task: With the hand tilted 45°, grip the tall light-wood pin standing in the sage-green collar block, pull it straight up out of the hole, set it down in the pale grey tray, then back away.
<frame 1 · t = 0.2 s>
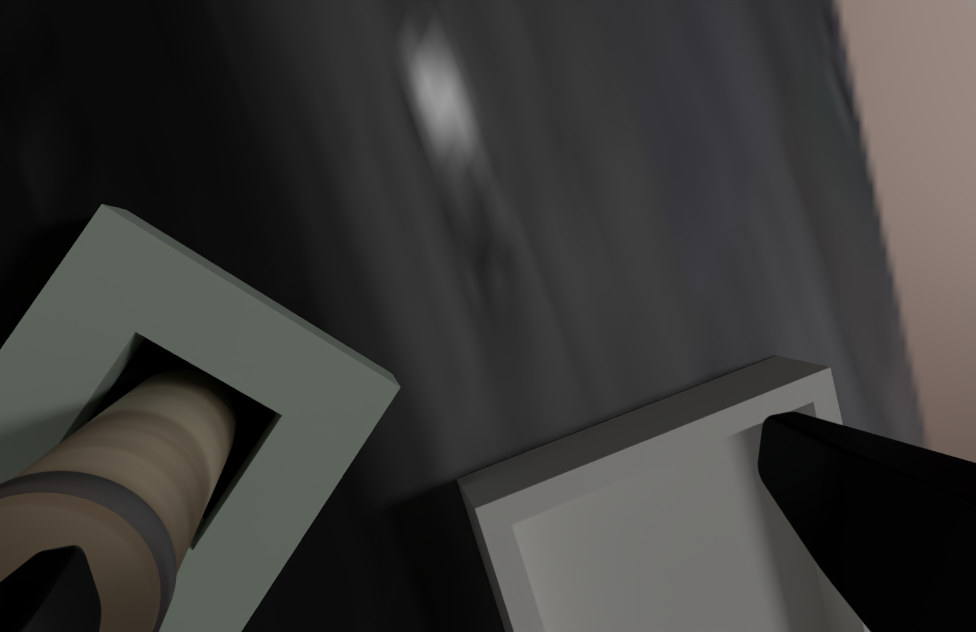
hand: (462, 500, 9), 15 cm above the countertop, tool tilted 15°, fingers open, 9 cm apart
tray: (668, 573, 27), on the countertop
collar: (181, 423, 22), on the countertop
pin: (131, 485, 16), in the collar
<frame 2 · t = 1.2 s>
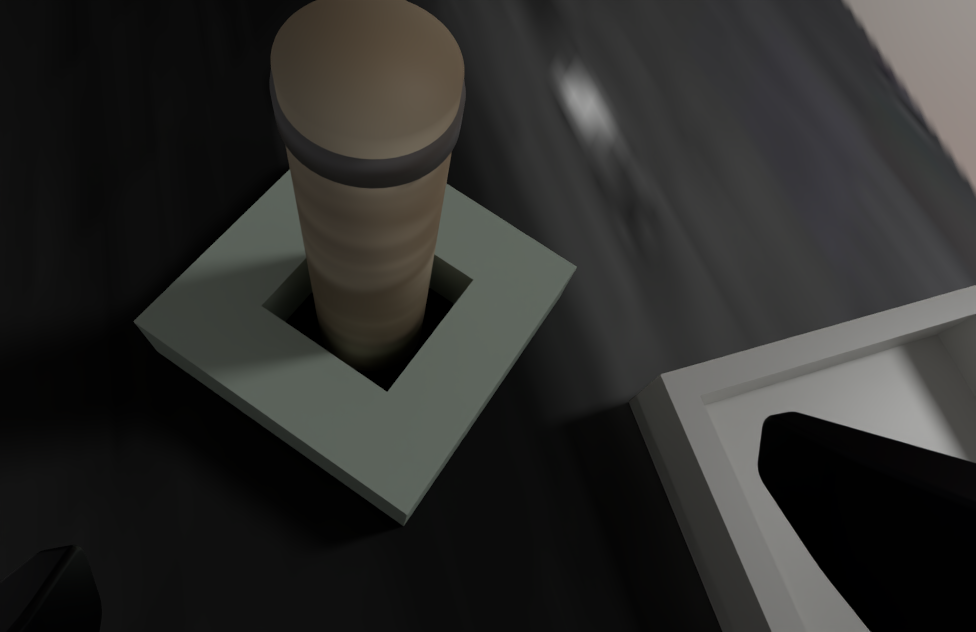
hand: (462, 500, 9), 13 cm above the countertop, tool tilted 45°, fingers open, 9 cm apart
tray: (881, 536, 24), on the countertop
collar: (371, 323, 24), on the countertop
pin: (370, 232, 18), in the collar
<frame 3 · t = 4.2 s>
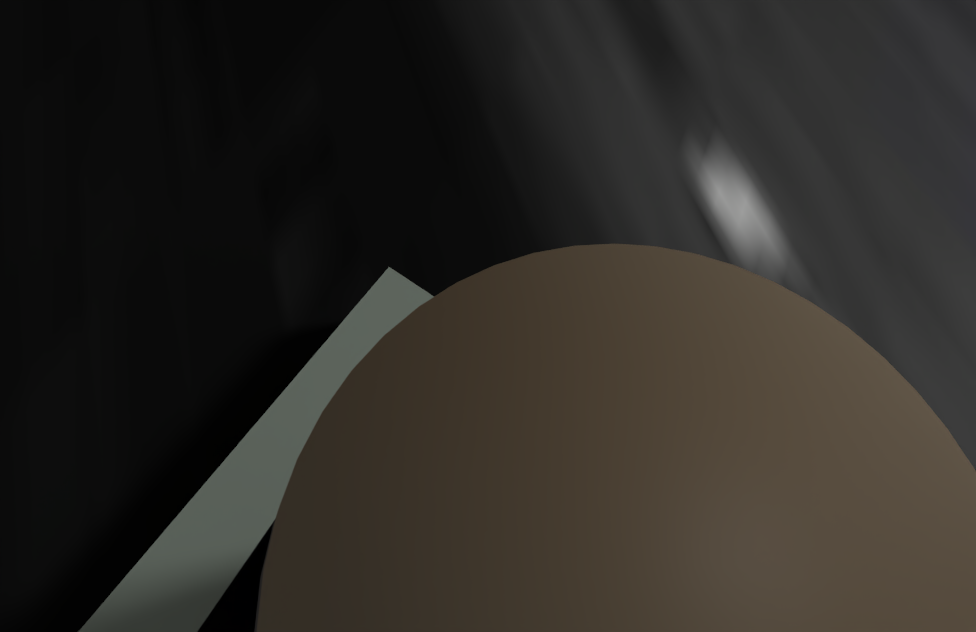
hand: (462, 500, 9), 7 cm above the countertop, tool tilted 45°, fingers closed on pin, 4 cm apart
collar: (438, 617, 14), on the countertop
pin: (479, 613, 9), in the collar, touching gripper
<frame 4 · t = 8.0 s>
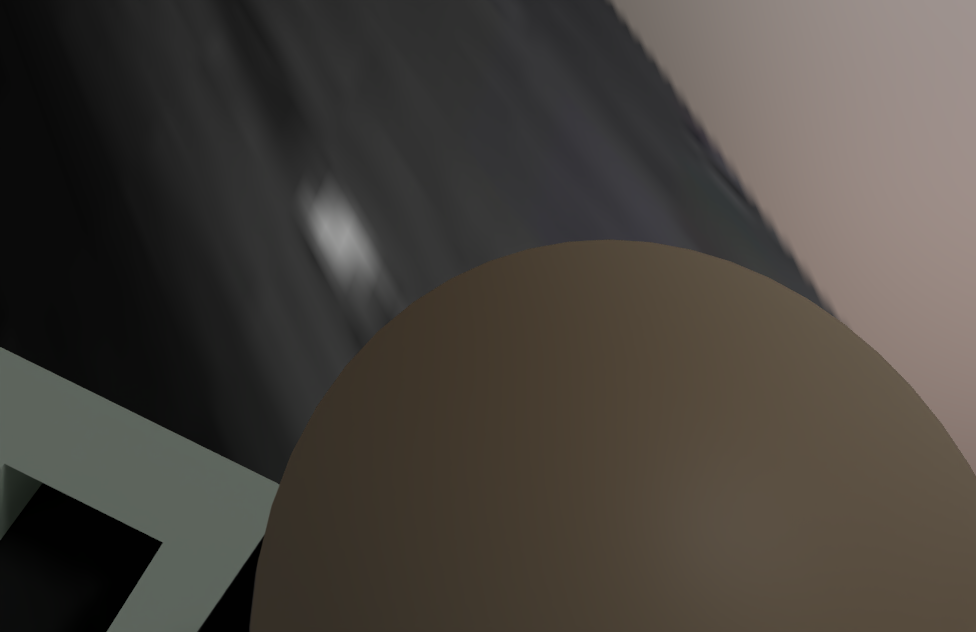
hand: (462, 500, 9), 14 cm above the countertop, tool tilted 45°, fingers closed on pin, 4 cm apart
collar: (62, 592, 19), on the countertop
pin: (478, 611, 9), point 13 cm above the countertop, touching gripper
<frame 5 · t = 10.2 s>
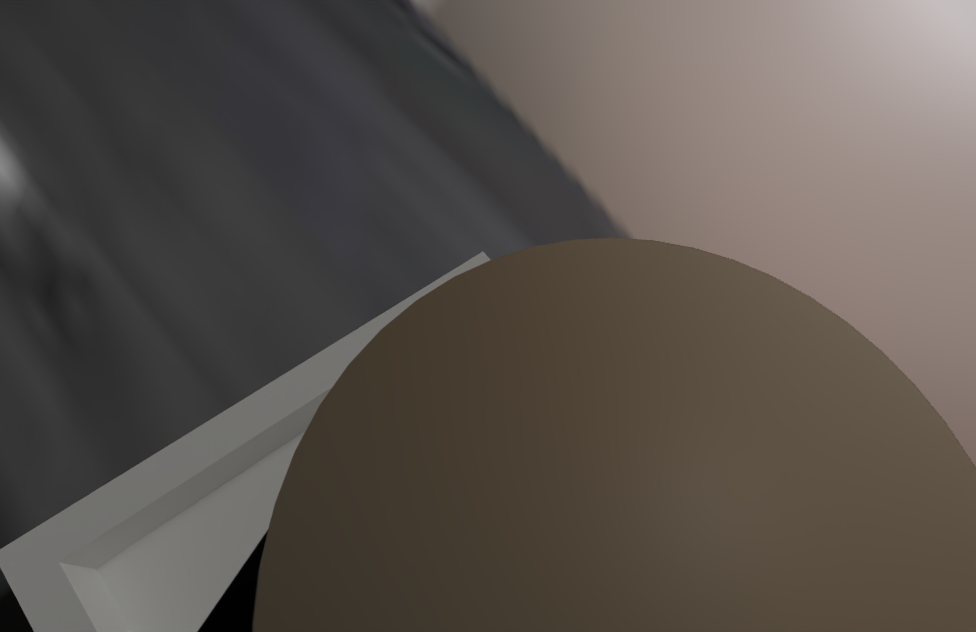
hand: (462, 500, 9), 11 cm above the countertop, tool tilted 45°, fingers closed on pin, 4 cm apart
tray: (423, 612, 19), on the countertop
pin: (479, 611, 9), point 11 cm above the countertop, touching gripper
when the fingers open (9 cm above the countertop, at t = 12.0 s): pin drops 1 cm, resting on tray.
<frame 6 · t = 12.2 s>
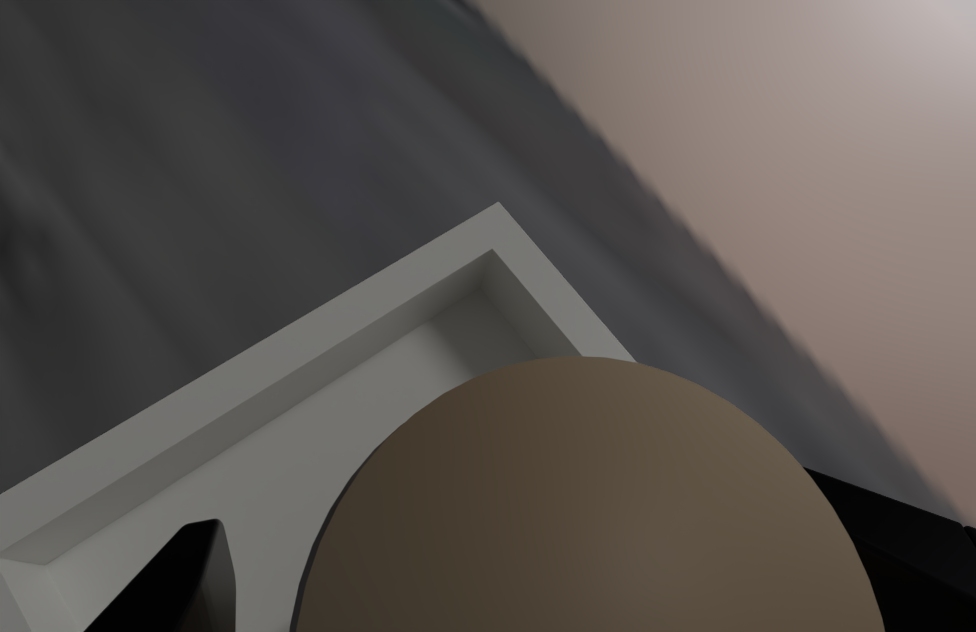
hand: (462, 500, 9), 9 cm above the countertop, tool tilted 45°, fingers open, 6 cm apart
tray: (431, 617, 16), on the countertop
pin: (470, 623, 10), in the tray, point 7 cm above the countertop
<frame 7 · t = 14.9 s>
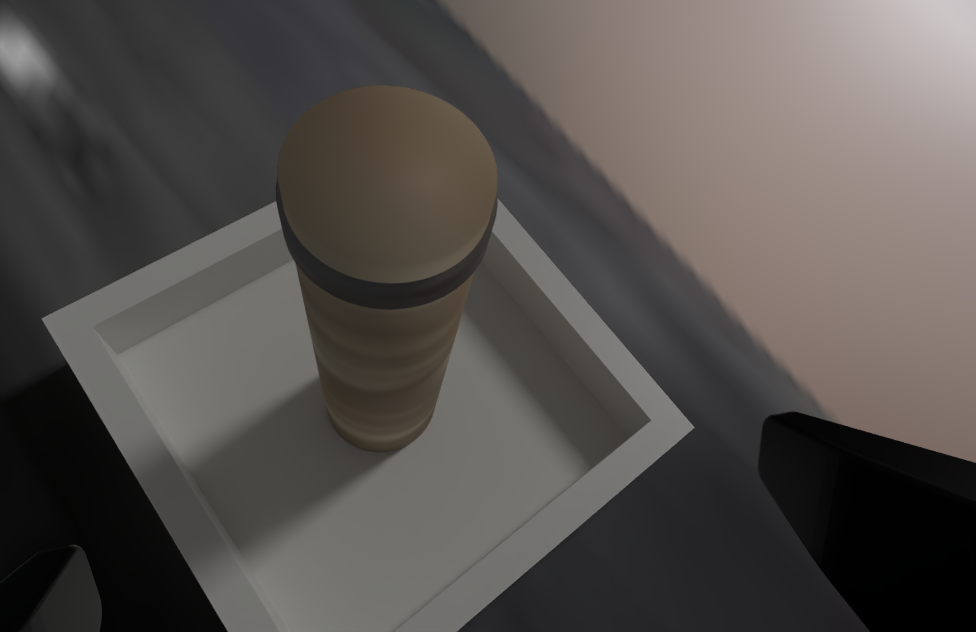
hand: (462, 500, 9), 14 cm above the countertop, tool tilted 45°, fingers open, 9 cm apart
tray: (380, 404, 23), on the countertop
pin: (384, 322, 17), in the tray, point 7 cm above the countertop
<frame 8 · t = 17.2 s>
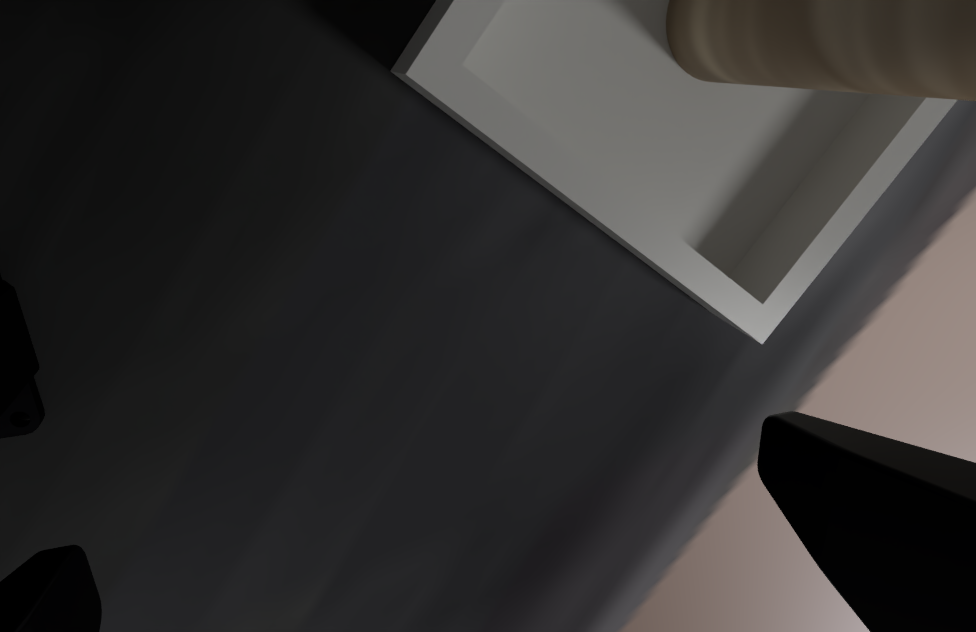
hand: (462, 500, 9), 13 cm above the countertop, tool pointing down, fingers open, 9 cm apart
tray: (707, 18, 21), on the countertop
pin: (886, 4, 14), in the tray, point 7 cm above the countertop
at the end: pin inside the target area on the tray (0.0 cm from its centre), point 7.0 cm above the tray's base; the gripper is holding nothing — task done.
